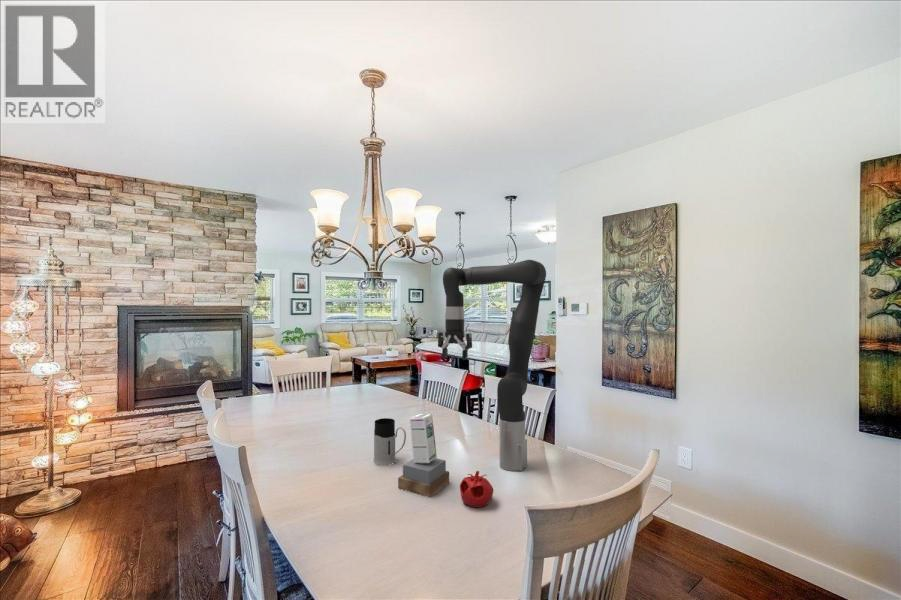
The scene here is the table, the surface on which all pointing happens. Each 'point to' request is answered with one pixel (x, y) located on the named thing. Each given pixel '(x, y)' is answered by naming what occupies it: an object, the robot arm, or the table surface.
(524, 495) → the table surface
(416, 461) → the syrup box
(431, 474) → the charcoal top block
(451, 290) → the robot arm
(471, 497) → the pomegranate
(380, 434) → the grey mug
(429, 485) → the walnut base block
